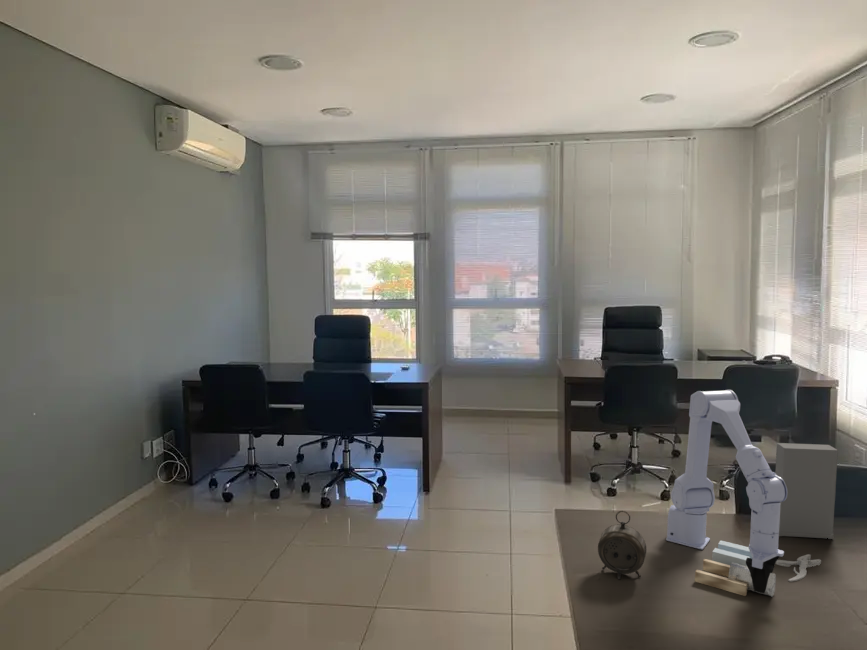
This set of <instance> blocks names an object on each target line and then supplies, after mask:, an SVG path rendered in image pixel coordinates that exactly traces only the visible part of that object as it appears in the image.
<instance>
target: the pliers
mask: <svg viewBox="0 0 867 650" xmlns="http://www.w3.org/2000/svg"><path fill="white" fill-rule="evenodd" d="M811 556H812V555H811V554H805V555H802V556H799V557H798V558H797V559H796V560H795V561H793V560H785V559H778V560H777V561H776V563H775V566H776V565H778V566H782V567H787V568H788V567H791V566H794V565H795V566H799V567H798V570H799V572H798V571H797V570H796V567H795V566H794V567H793V572H794V574H796V576H793V577H792V578H789V579H788V582H789V583H792V582H796V581H797V582H799V581H800V580H802V579H804V578H805V577H806V576H807V569H806V568H811V567H812V566H813V567H817V566H816V565H818V566H821V565H822V560H821V559H820V558H818V559H817V558H816V559H811V558H812V557H811ZM820 564H821V565H820ZM813 567H812V568H813Z"/></svg>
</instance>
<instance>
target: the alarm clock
mask: <svg viewBox="0 0 867 650" xmlns="http://www.w3.org/2000/svg"><path fill="white" fill-rule="evenodd" d="M620 513H625V514H626V515H627V516H628V521H627V522H625V521H619V520H618V515H619V514H620ZM615 519H616V522H617V523H619V524H613V525H610V526H608V527H606V528H605V529H604V530H603V531H602V532H601V534H600V535H601V536H600V538H599V541H598V544H597V545H598V546H597V552H598V556H599V559H600V561H601V562H602V563H603V565H604V566H603V567H601V569H602V571H603V570H605V569H606V568H608V569H609V570H611V571H612V572H614V573H616V574H617V579H618V580H620V579H621V578H622V575H629V574H630V575H631V574H633V573H635V575H637V577H638V578H641V574H640V573H639V570H640V569H641V568H642V567H643V565H644V563H645V559H646V555H647V544H646V541H645V539H644V538H643V537H644V536H642V534H641V533H640V532H639V531H638V530H636V529H635V528H633V527H631V526H630V525H627V524H629V523H630V521H631V515H630V513H628V512H627V511H626V510H619V511H617V513H615Z"/></svg>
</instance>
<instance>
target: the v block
mask: <svg viewBox="0 0 867 650" xmlns="http://www.w3.org/2000/svg"><path fill="white" fill-rule="evenodd" d="M711 552H712V553H711V560H712V561H715V562H719V563H723V564H727V565H731V563H736V564H740V565H744V566H747V565H746V559H747V558H751V559H752V555H751V553H750V551H749V546H745V545H741V544H737V543H734V542H729V541H725V540H719V542H718V543H717V547H714V549H713V550H712V551H711Z"/></svg>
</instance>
